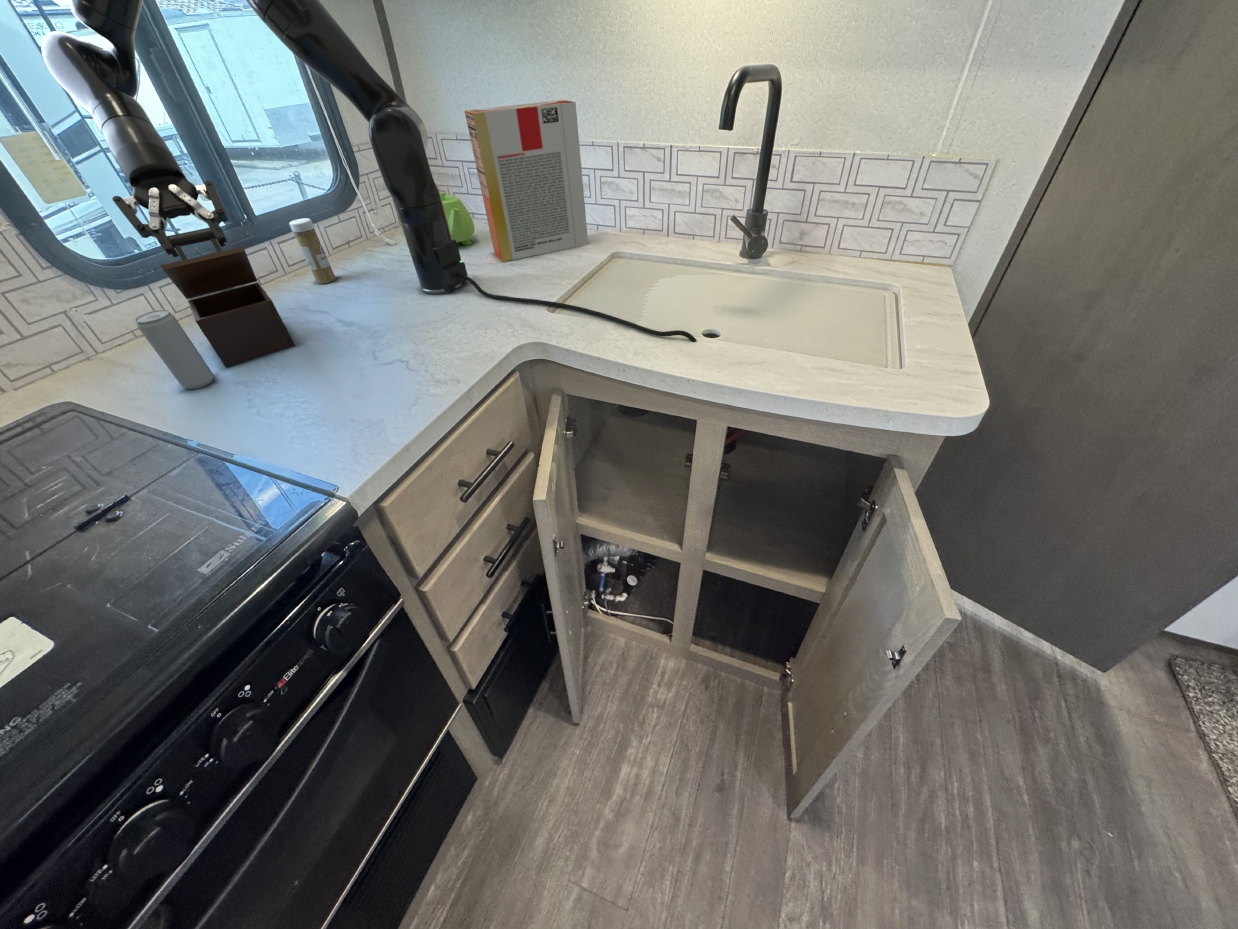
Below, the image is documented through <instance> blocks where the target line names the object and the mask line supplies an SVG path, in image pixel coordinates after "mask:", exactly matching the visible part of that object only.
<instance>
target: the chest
mask: <svg viewBox="0 0 1238 929" xmlns="http://www.w3.org/2000/svg"><path fill="white" fill-rule="evenodd" d="M187 303H188V306H189V308H190V311H191V313H192V316H193V319H194V321H195V323H196V324H197V326H198V327H199V329H200V330H201V332H202V334H203V335H204V337H205V338H206V340H207V341H208V342H209V344H210V346H211V348H212V349H213V351H214V352H215V354H216V355H217V356H218V358H219V359H220V361H221V363H222V364H223V366H224V367H225V368H230V367H232V366H236V365H239V364H242V363H246V362H248V361H252V360H254V359H258V358H260V357H265V356H267V355H269V354H274V353H276V352H279V351H282V350H286V349H289V348H292V347H296V344H295V341H294V340H293V338H292V336H291V334H290V332H289V330H288V328H287V327H286V326H287V325H285V323H284V321H283V319H282V317H281V315H280V313H279V311H278V309H277V308H276V306H275V304H274V301H273V300H272V299H271V297H270V296H269V295H268V293H267V292H266V291H265V289H264V288H263V287H262V285H261V283H259V281H257V282H253V283H249V284H245V285H241V286H237V287H236V288H232V289H228V290H224V291H220V292H216V293H212V294H208V295H204V296H201V297H197V298H193V299H187Z"/></svg>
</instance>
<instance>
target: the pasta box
mask: <svg viewBox="0 0 1238 929" xmlns="http://www.w3.org/2000/svg"><path fill="white" fill-rule="evenodd" d="M576 103H577V102H576V101H571V100H565V99H558V100H548V101H539V102H532V103H522V104H513V105H511V104H510V105H503V106H494V107H486V108H485V107H484V108H478V109H477V108H475V109H466V110H464V115H465V120H466V124H467V129H468V130H467V131H468V134H469V135H468V136H469V139H470V144H471V148H472V153H473V158H474V163H475V168H476V173H477V177H478V182H479V187H480V190H481V196H482V201H483V205H484V210H485V215H486V219H487V225H488V229H489V234H490V239H491V244H492V247H493V253H494V254H495V255H496V257H497V258H498V259H499V260H500V261H501V262H502V263H504V262H509V261H514V260H519V259H523V258H528V257H533V256H538V255H543V254H544V255H545V254H548V253H553V252H557V251H564V250H567V249H568V250H569V249H573V248H578V247H583V246H587V245H589V236H588V225H587V214H586V203H585V190H584V183H583V182H584V181H583V180H584V179H583V170H582V161H581V160H582V158H581V148H580V137H579V136H580V135H579V127H578V126H579V124H578V115H577V114H578V113H577V104H576Z"/></svg>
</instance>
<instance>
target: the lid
mask: <svg viewBox="0 0 1238 929" xmlns="http://www.w3.org/2000/svg"><path fill="white" fill-rule="evenodd" d="M167 237H168V239H169V241H170V242H171V244H172V246H173V247H174V248H175V250H176V252H177V253H178V255H179V257H180V260H177V261H173V262H169V263H164V264H160V268H161V269H162V271H163V272H164V273H165V274H166V277H168V279H170V281H171V282H172V283H173V284H174V286H175V288H177V289H178V290H179V292H180V293H181V294H182V295H183V297H184V298H185V299H186V300H189V299H190V298H194V297H198V296H202V295H206V294H210V293H214V292H218V291H221V290H225V289H229V288H233V287H240V286H244V285H247V284H251V283H255V282H258V279H257V276H256V274H255V271H254V269H253V267H252V264H251V262H250V260H249V257H248V255H247V252H246V250H245V248H244V247H243V246H240V247H235V248H231V249H226V250H222V247H221V246H220V245H219V243H218V241H217V239H216V237H215V236H214V234H213V232H212V230H211V229H210V228H209V227H205V228H200V229H196V230H195V229H194V230H191V231H185V232H181V233H175V234H171V235H167ZM205 242H211V244H212V246H213V247H214V250H215V251H216V252H213V253H209V254H205V255H200V256H195V257H191V258H188V257H187V255H186V254H185V252H184V251H183V249H182V247H186V246H192V245H196V244H200V243H205Z"/></svg>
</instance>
